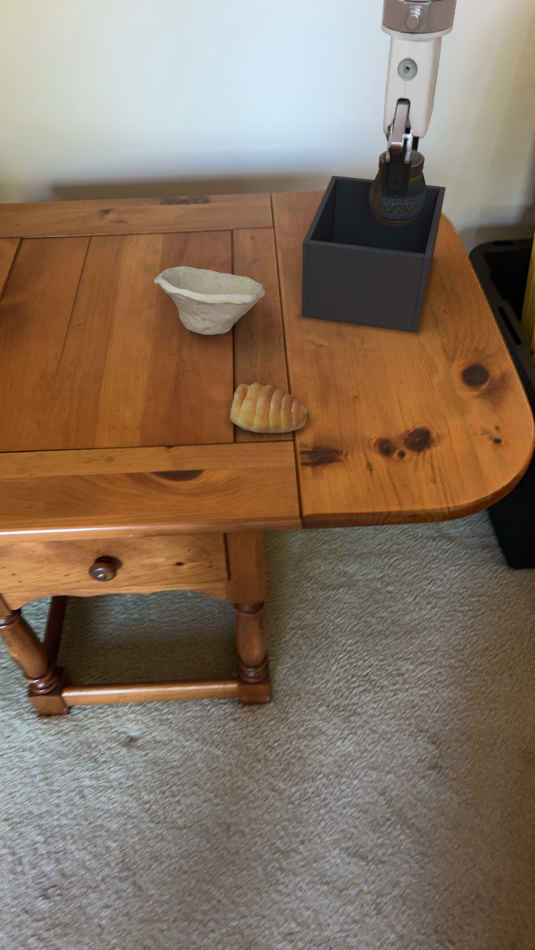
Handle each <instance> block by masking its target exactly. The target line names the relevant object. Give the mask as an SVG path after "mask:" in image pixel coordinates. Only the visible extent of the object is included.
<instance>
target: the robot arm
mask: <svg viewBox="0 0 535 950" xmlns="http://www.w3.org/2000/svg"><path fill="white" fill-rule="evenodd" d="M457 2H458V0H383V3H382V14H381V23H380V24H381V26H380V29H381V31H382V32H383V33H384V34H385V35H388V36H390V40H389V41H390V42H389V51H388V59H387V70H386V71H387V72H386V82H385V93H384V105H383V120H382V121H383V122H382V132H383V133H384V135H385V136H386V135H387V136H388V135H389V138H388V141H387V145H386V151H387V152H386V159H385V160H384V168H383V178H382V188H381V191H382V193H386V194H395V195H406V194H407V193H408V187H409V180H410V172H411V165H412V161H410V155H411V149H412V150H416V151H418V149H419V142H420V140H422V139H424V137H426V135H427V133H428V130H429V126H430V123H431V119H432V116H433V112H434V105H435V96H436V89H437V81H438V74H439V67H440V59H441V53H442V52H441V51H442V41H443V40H442V39H443V37H444V36H447V35H448V34H450V33H451V32H453V28H454V21H455V15H456V8H457Z"/></svg>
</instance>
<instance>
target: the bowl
mask: <svg viewBox="0 0 535 950" xmlns="http://www.w3.org/2000/svg"><path fill="white" fill-rule="evenodd" d="M153 283H154V284H156V285H158V286H159V287H160V288H161V289H162V291H163V292H164V293H165V294H166V295H168V296H169V297H170V298H171V299H172V301H173V303H174V304H175V306H176V308H177V311H178V318H179V319H180V321H181V323H182V325H183V326H184V327H185V329H186V330H188V331H190V332H193V333H196V334H200V335H204V336H205V335H206V336H213V335H223V334H226V333H227V332H229V331H230V330H231V329H232V328H233V326H234V325H235V323H237V322H238V321H239V320H240V319H241V318H242V317H243V316H245V315H246V314H247V313H248V312H249V311H250V310H251V309H252V308H253V307H254V306H255V305H256V304H257V303H258V302H259V300H260V299H261V298H262V297H264V296H265V295H266V291H265V289H264V287H263V284H261V283H259V282H257V281H255V280H254V279H252V278H251V277H248V276H243V275H242V276H241V275H236V274H231V273H228V272H227V273H225V272H218V271H214V270H211V269H203V268H202V269H201V268H196V267H191V266H185V265H182V266H181V265H180V266H175V267H168V268H166V269H164V270H163V271H161V273H160V274H158V275H157V277H155V278H154V279H153Z"/></svg>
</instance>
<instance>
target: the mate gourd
mask: <svg viewBox="0 0 535 950" xmlns="http://www.w3.org/2000/svg"><path fill="white" fill-rule="evenodd" d="M385 138H386V141H387V142H388V138H389V135H388V136H387V135H385ZM386 152H387V150H385V151H383V152H382V153H380V155H379V156H378V165H377V166H378V171H377V173H376V175H375V177H374V179H373V180H374V181H373V183H372V186H371V188H370V192H369V203H370V207H371V212H372V214H373V215H374V217H375V218H376V220H377V221H379V223H381V224H384V225H387V226H392V227H394V226H395V227H397V226H398V227H400V226H404V225H407V224H408V223H410V222H412V221H413V220H414V219H415V218H416V217H417V216H418V215H419V213H420V210H421V209H422V207H423V204H424V200H425V197H426V185H427V183H426V178H425V175H424V168H425V167H424V165H425V162H426V159H425V156H424V155H423V154H422V152H420V151H418V150H417V151H416V150H412V149H411V155H410V161H412V165H411V172H410V180H409V187H408V193H407V194H406V195H395V194H386V193H382V191H381V188H382V178H383V168H384V160H385V159H386Z"/></svg>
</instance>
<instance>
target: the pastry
mask: <svg viewBox="0 0 535 950" xmlns="http://www.w3.org/2000/svg"><path fill="white" fill-rule="evenodd" d="M308 413H309V408H308V406H307V405H306V404H305V402H304V401H302V400H300V399H299V398H297V396H296V395H295V394H290V393H288V392H287V391H286V390H285V389H282V388H281V389H279V388H277V387H276V386H273V385H272V384H266V385H264V384H263V383H261V382H259V381H256V382H253V383H252V384H251V385H249V384H245V383H240V384H239V385H238V386H237V388H236V390H235V391H234V394H233V400H232V403H231V407H230V413H229V420H230V422H231V423H233V424H234V425H236V426H238V427H239V428H240V429H242V430H244V431H250V432H253V433H261V434H263V433H266V434H267V433H268V434H273V433H277V434H278V433H283V434H284V433H289V432H290V433H291V432H293V431H296V430H300V429H302V428H303V427H304V426H305V424H306V422H307V418H308Z"/></svg>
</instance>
